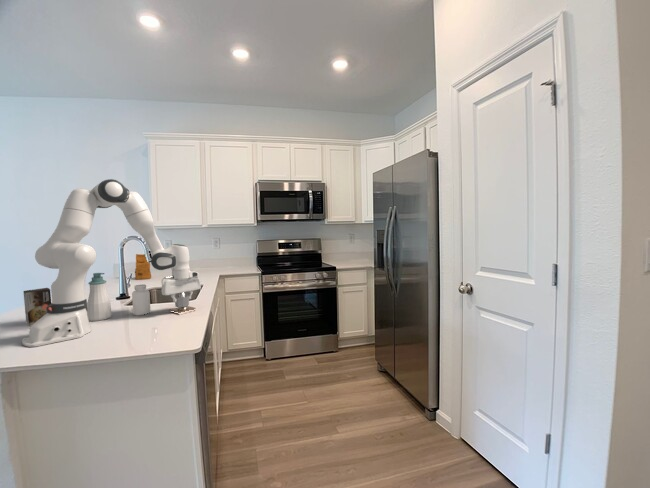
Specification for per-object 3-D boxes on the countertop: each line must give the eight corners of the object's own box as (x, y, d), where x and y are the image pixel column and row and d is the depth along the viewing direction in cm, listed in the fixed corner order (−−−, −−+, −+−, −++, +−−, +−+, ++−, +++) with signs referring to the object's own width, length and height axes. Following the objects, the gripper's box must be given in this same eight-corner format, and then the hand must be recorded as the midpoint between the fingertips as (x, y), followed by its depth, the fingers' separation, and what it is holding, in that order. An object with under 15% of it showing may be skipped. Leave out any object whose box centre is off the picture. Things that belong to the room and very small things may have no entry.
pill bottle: (131, 316, 162) (129, 287, 161) (135, 312, 169) (134, 284, 168) (148, 314, 164) (146, 286, 163) (152, 310, 171) (150, 283, 170)
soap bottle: (99, 321, 153) (96, 274, 152) (82, 321, 155) (79, 274, 154) (116, 316, 163) (113, 271, 161) (100, 315, 165) (97, 271, 163)
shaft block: (179, 314, 163) (178, 294, 162) (170, 312, 168) (169, 292, 167) (195, 310, 170) (194, 291, 169) (186, 308, 175) (185, 289, 175)
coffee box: (50, 319, 159) (48, 287, 158) (53, 321, 155) (50, 288, 154) (25, 323, 152) (23, 290, 151) (28, 326, 148) (25, 292, 147)
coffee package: (136, 278, 283) (134, 253, 281) (152, 277, 287) (150, 253, 286) (134, 280, 274) (132, 254, 272) (150, 279, 278) (149, 254, 277)
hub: (179, 307, 165) (179, 298, 164) (173, 306, 168) (173, 296, 168) (191, 305, 170) (190, 295, 169) (184, 303, 173) (184, 294, 173)
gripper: (164, 278, 158) (166, 305, 158) (201, 272, 174) (202, 297, 175) (158, 277, 161) (159, 303, 162) (195, 271, 178) (196, 296, 179)
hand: (182, 300), depth 169 cm, fingers closed on hub, 6 cm apart
